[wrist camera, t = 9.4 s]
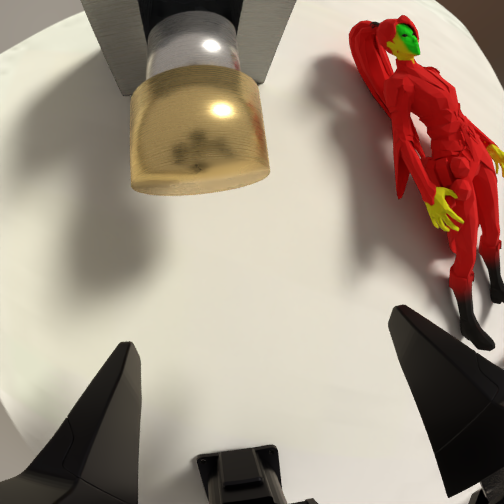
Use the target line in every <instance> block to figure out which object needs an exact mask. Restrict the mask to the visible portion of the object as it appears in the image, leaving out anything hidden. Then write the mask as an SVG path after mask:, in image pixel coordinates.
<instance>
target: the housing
mask: <svg viewBox="0 0 504 504" xmlns="http://www.w3.org/2000/svg"><path fill="white" fill-rule="evenodd" d="M80 1H81V3H82V5H83V8H84V10H85V13H86V15H87V17H88V20H89V22H90V24H91V27H92V29H93V31H94V34H95V36H96V38H97V40H98V43H99V45H100V47H101V49H102V52H103V54H104V56H105V58H106V61H107V63H108V65H109V67H110V69H111V71H112V74H113V76H114V78H115V80H116V82H117V84H118V87H119V89H120V91H121V93H122V95H123V96H125V95H131V94H133V93H134V91H135V90H136V89H137V87H139V86H140V85H141V84H142V83H143V82H145V81H146V64H147V45H148V36H149V34H150V32H151V30H152V29H153V28H154V26H155V25H157V24H158V23H159V22H160V21H162V20H163V19H165V18H167V17H169V16H172V15H174V14H178V13H182V12H187V11H207V12H212V13H216V14H218V15H221V16H223V17H225V18H226V19H228V20H229V21H230V22H231V23H232V24H233V26H234V28H235V30H236V37H237V45H238V52H239V60H240V68H241V72H243V73H245V74H246V75H248V76H249V77H251V78H252V79H253V80H254V81H255V82H256V83H264V81H265V78H266V76H267V73H268V70H269V68H270V65H271V63H272V60H273V57H274V55H275V52H276V50H277V47H278V45H279V42H280V40H281V37H282V35H283V32H284V30H285V27H286V25H287V22H288V20H289V17H290V15H291V13H292V10H293V8H294V5H295V3H296V1H297V0H80Z"/></svg>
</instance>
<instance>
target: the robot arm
mask: <svg viewBox="0 0 504 504" xmlns="http://www.w3.org/2000/svg"><path fill="white" fill-rule="evenodd" d="M388 328H389V331H390V334H391V337H392V340H393V343H394V347H395V350H396V353H397V356H398V360H399V362H400V365H401V368H402V370H403V372H404V375H405V377H406V380H407V382H408V384H409V387H410V389H411V392H412V394H413V397H414V400H415V402H416V405H417V407H418V410H419V412H420V415H421V418H422V420H423V423H424V426H425V429H426V431H427V434H428V437H429V440H430V443H431V446H432V449H433V452H434V454H435V458H436V461H437V464H438V467H439V470H440V474H441V477H442V480H443V483H444V487H445V490H446V494H447V496H448V498H450V497H452V496H454V495H456V494H458V493H460V492H462V491H464V490H466V489H468V488H470V487H471V486H473V485H475V484H477V483H479V482H480V484H481V487H482V488H481V489H479V490H478V491H476V492H474V493H473V494H472V495H471V498H470V501H469V503H468V504H504V370H503V369H501V368H500V367H498V366H496V365H495V364H493V363H492V362H490V361H489V360H487V359H486V358H484V357H483V356H481V355H480V354H478V353H476V352H475V351H474V350H472V349H471V348H469V347H468V346H467V345H465V344H464V343H462V342H461V341H459V340H458V339H456V338H455V337H453V336H452V335H450V334H449V333H447V332H446V331H444V330H443V329H441V328H440V327H438V326H437V325H435V324H434V323H432V322H431V321H429V320H428V319H426V318H425V317H423V316H422V315H420V314H419V313H417V312H416V311H414V310H412V309H411V308H409V307H408V306H406V305H398V306H395V307H394V308H393V310H392V313H391V316H390V319H389V322H388ZM141 404H142V395H141V360H140V356H139V354H138V352H137V350H136V348H135V346H134V344H133V343H132V342H130V341H129V342H120V343H119V344H118V346H117V347H116V348H115V350H114V351H113V352H112V354H111V355H110V357H109V358H108V359H107V361H106V362H105V363H104V365H103V366H102V367H101V369H100V370H99V372H98V373H97V374H96V376H95V377H94V379H93V380H92V381H91V383H90V384H89V386H88V387H87V388H86V390H85V391H84V393H83V394H82V396H81V397H80V398H79V400H78V401H77V403H76V404H75V406H74V407H73V408H72V410H71V411H70V413H69V414H68V416H67V417H68V418H66V419H65V420H64V421H63V423H62V424H61V426H60V427H59V429H58V430H57V431H56V433H55V434H54V436H53V437H52V438H51V439H50V441H49V442H48V443H47V444H46V446H45V447H44V448H43V449H42V451H41V452H40V453H39V454H38V455H37V457H36V458H35V459H34V460H33V462H32V463H31V464H30V465H29V466H28V467H27V468H26V470H24V471H23V472H22V473H21V474H19V475H17V476H16V477H13V478H10V479H8V480H5V481H2V482H0V504H138V458H139V436H140V419H141ZM270 450H273V451H271V452H269V451H270ZM202 459H204V460H205V461H201V460H202ZM197 464H198V467H199V471H200V474H201V478H202V481H203V485H204V488H205V491H206V494H207V498H208V501H209V504H287V501H286V499H285V496H284V494H283V491H282V485H281V475H280V466H279V456H278V450H277V447H276V446H275V445H266V446H261V447H255V448H247V449H241V450H234V451H226V452H220V453H211V454H202V455H199V456H198V457H197ZM291 504H318V503H317V502H316V501H315V500H314V499H313V498H311V499H306V500H305V501H302V502H297V503H291Z"/></svg>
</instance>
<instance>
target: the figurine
mask: <svg viewBox="0 0 504 504" xmlns="http://www.w3.org/2000/svg"><path fill="white" fill-rule="evenodd" d="M404 23H405V24H404ZM418 42H419V36H418V31H417V29H416V27H415V25H414V24H413V22H412V21H411V20H410V19H409V18H408V17H407V16H405V15H401V16H400V17H399V18H398V19H386V20H384V21H383V22H381V23H378V22H371V21H367V20H366V21H360V22H359V23H357V24H356V25H355V26H354V27H352V29H351V31H350V33H349V45H350V49H351V53H352V56H353V59H354V61H355V64H356V66H357V69H358V71H359V73H360V75H361V77H362V78H363V80H364V82H365V83H366V85H367V87H368V88H369V90H370V92H371V94H372V95H373V97H374V98H375V99H376V100H377V102H378V103H379V104H380V106H381V107H382V108H383V110H384V111H385V112H386V113H387V115H388V116H389V117H390V119H391V120H392V131H393V154H394V166H395V180H396V190H397V196H398V199H400V198H402V196H403V194H404V191H405V188H406V185H407V182H408V178H409V174H410V173H411V175H412V177H413V179H414V181H415V183H416V185H417V187H418V189H419V191H420V193H421V196H422V199H423V201H424V202H425V205H426V208H427V211H428V213H429V215H430V218H431V220H432V223H433V225H434V226H435V227H436V228H439V227H440V228H441V229H443V230H444V231H447V236H448V241H449V247H450V249H451V250H452V252H453V253H455V254H456V258H455V262H454V264H453V265H452V267H451V268H450V276H449V287H450V288H452V289H453V292H454V294H455V297H456V300H457V303H458V308H459V313H460V326H461V332H462V335H463V336H464V337H465V338H466V339H468V340H470V341H471V342H472V343H473V345H474V346H475V347H476V348H477V349H479V350H487V351H491V350H492V349H494V348H495V343H494V341H493V340H492V338H491V337H490V336H489V335H488V334H487V333H485V332H484V331H483V330H482V328H481V327H480V325H479V323H478V321H477V320H476V317H475V315H474V313H473V301H472V281H474V272H473V271H472V270H473V267H474V264H475V261H476V245H477V232H478V227H479V225H481V229H482V235H481V236H480V244H479V251H478V253H479V254H480V255H481V256H482V258H483V260H484V262H485V264H486V266H487V268H488V272H489V277H490V284H491V288H490V294H491V300H492V302H493V303H497V304H501V302H503V303H504V283H503V281H502V278H501V275H500V258H499V249H501V241H500V240H499V235H500V227H499V208H498V191H497V177H496V174H498V169H499V166H498V163H499V164H500V166H501V168H502V176H503V178H504V152H502V151H501V150H500V149H499V148H498V146H497V145H496V144H495V143H494V142H493V141H491V140H490V139H489V138H488V137H487V136H486V135H485V134H484V133H483V132H482V131H480V130H479V129H478V128H477V127H476V126H475V125H474V124H473V123H472V122H471V121H470V120H468V119H467V117H466V116H464V115H463V114H462V112H461V110H460V103H458V100H457V95H456V90H455V87H453V86H452V85H451V84H450V83H448V82H447V81H446V80H445V79H443V78H442V77H441V76H440V74H439V73H440V72H439V71H438V70H437V69H436V68H434V67H423V66H421V65H419V64H418V63H417V62H416V61H415V59H414V56H417V55H420V49H419V44H418ZM386 51H387V52H388V53H390V54H392V55H394V56H396V57H397V59H396V65H397V69H396V71H395V72H394V73H393V70H392V67H391V64H390V61H389V58H388V55H387V53H386ZM410 112H412V113H414V114H415V115H417V116H418V117H420V119H419V120H420V121H421V122H423V123H424V124H425V126H426V127H427V134H428V135H429V137H430V138H431V149H432V157H426V156H425V154H424V151H423V149H422V147H421V145H420V142H419V141H420V139H419V137H418V134H417V132H416V129H415V127H414V124H413V122H412V119H411V117H410ZM415 150H416V151H417V152H418V153H419V155H420V157H421V159H420V158H419V156H418V154H417V153H416V151H415ZM491 158H492V159H493V160H494V162H495V165H496V173H495V169H494V166H493V162H492V159H491ZM441 218H442V219H443V221H444V222H445V223H446V226H447V227H446V226H445V225H444V223H443V221H442V219H441ZM436 221H437V223H438V224H437V223H436ZM438 225H439V227H438Z"/></svg>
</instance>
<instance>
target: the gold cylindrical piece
mask: <svg viewBox="0 0 504 504" xmlns="http://www.w3.org/2000/svg"><path fill="white" fill-rule="evenodd" d="M130 171H131V187H132V189H134V190H135V191H137V192H140V193H144V194H149V195H160V196H181V195H196V194H205V193H213V192H220V191H226V190H231V189H235V188H240V187H244V186H247V185H250V184H253V183H256V182H258V181H261V180H263V179H264V178H266V177H267V176H268V175H269V174H270V166H269V158H268V151H267V144H266V136H265V129H264V122H263V115H262V108H261V101H260V94H259V88H258V86H257V84H256V82H255V81H254V80H253V79H252V78H251V77H249V76H248V75H246V74H245V73H243V72H241V68H240V60H239V52H238V45H237V37H236V30H235V28H234V26H233V24H232V23H231V22H230V21H229V20H228V19H226V18H225V17H223V16H221V15H218V14H216V13H212V12H207V11H187V12H182V13H178V14H174V15H172V16H169V17H167V18H165V19H163V20H162V21H160V22H159V23H158V24H157V25H155V26H154V28H153V29H152V30H151V32H150V34H149V36H148V45H147V64H146V81H145V82H143V83H142V84H141V85H140V86H139V87H137V89H136V90H135V91H134V93H133V95H132V97H131V101H130Z"/></svg>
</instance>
